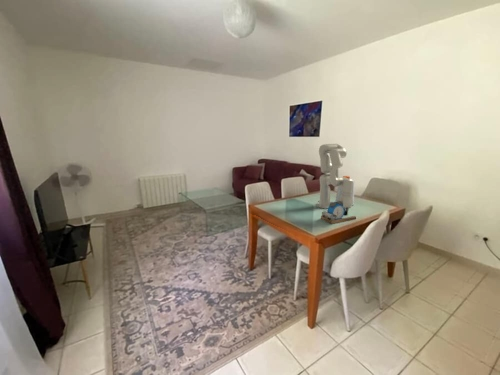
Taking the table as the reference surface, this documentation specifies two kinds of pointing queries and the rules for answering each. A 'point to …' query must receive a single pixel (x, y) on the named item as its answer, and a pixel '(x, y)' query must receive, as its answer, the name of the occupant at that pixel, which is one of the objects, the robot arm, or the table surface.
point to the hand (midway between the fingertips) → (345, 215)
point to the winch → (328, 217)
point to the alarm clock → (336, 209)
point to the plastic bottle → (339, 191)
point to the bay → (345, 219)
